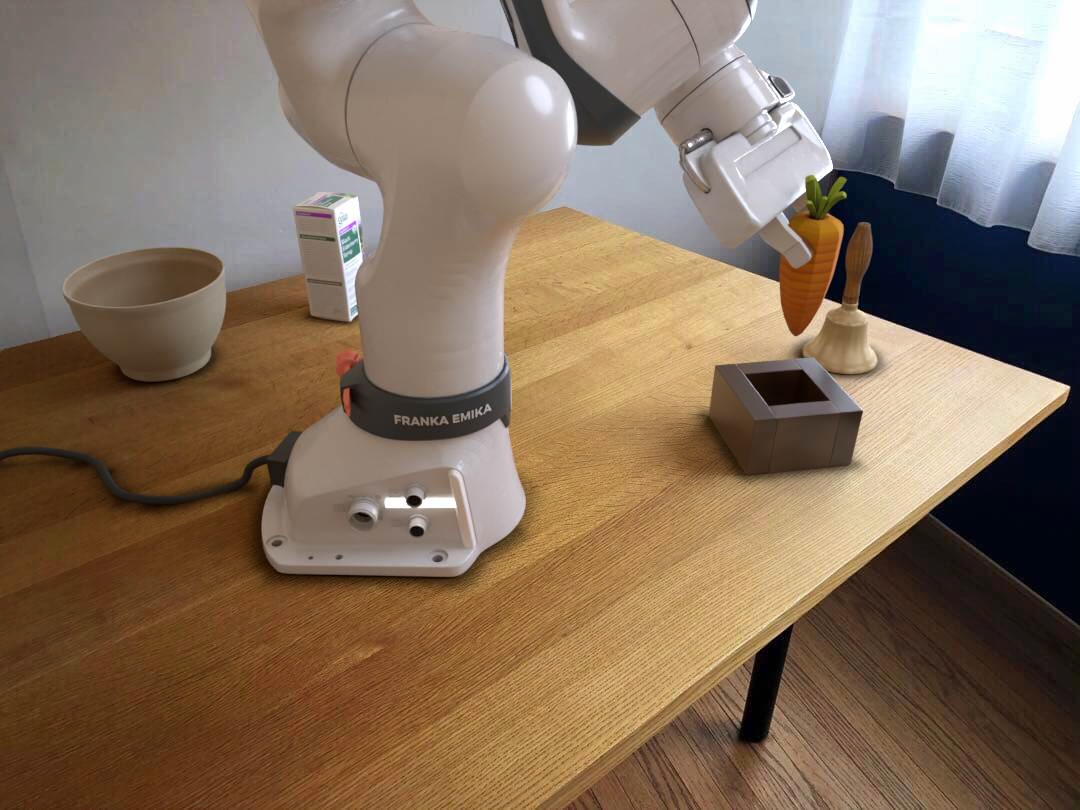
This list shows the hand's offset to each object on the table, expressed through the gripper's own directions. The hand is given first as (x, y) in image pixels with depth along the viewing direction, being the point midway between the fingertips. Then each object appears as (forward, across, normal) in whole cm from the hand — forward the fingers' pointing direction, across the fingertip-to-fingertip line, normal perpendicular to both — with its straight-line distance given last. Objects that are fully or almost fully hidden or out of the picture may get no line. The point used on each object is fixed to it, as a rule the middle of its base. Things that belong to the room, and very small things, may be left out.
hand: (817, 250), depth 74 cm
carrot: (+6, 0, +6) cm, 9 cm away
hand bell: (+14, +20, +14) cm, 29 cm away
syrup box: (-26, -2, +55) cm, 61 cm away
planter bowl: (-31, -23, +59) cm, 71 cm away
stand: (+14, 0, +14) cm, 20 cm away
